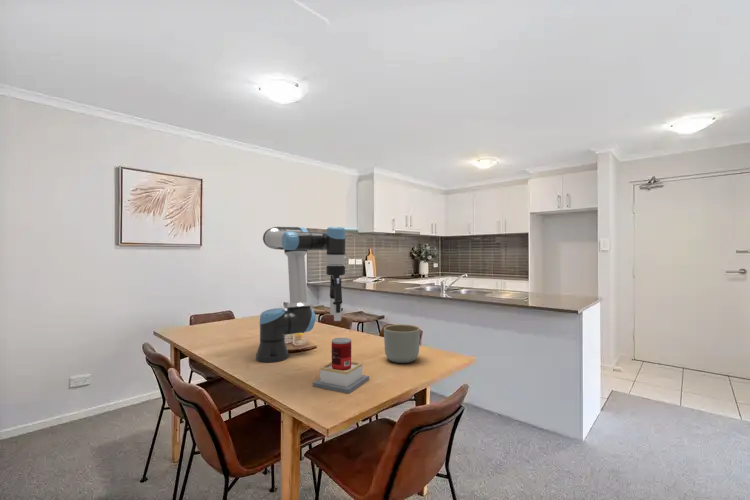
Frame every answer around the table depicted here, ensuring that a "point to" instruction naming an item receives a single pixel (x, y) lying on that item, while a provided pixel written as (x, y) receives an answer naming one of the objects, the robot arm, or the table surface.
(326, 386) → the base
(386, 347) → the planter
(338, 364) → the canned food
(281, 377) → the table surface
